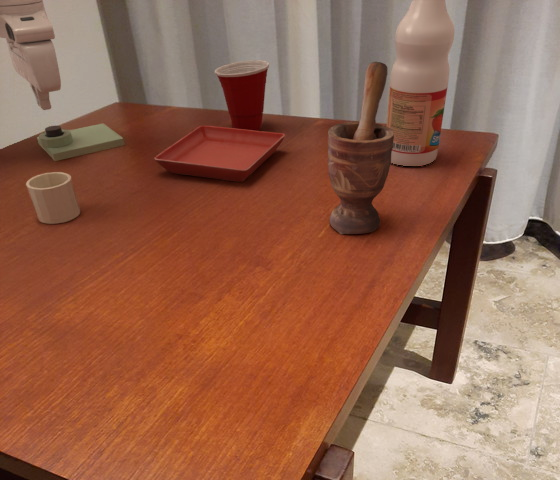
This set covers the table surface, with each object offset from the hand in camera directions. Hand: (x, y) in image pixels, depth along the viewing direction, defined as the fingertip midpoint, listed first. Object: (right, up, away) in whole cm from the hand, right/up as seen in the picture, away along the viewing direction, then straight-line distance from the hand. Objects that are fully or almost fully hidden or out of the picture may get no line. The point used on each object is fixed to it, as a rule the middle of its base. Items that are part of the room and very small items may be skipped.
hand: (45, 107), depth 105 cm
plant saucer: (+34, -12, -3) cm, 36 cm away
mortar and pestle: (+56, -27, -22) cm, 66 cm away
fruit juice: (+68, -12, -5) cm, 69 cm away
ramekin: (+10, -25, -17) cm, 32 cm away
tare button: (+1, -4, +4) cm, 5 cm away
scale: (+4, -4, +7) cm, 9 cm away
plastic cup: (+37, 0, +11) cm, 39 cm away
